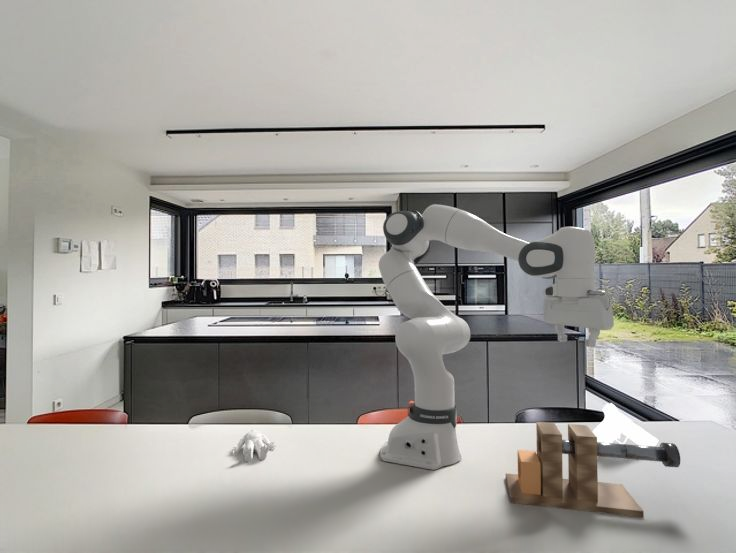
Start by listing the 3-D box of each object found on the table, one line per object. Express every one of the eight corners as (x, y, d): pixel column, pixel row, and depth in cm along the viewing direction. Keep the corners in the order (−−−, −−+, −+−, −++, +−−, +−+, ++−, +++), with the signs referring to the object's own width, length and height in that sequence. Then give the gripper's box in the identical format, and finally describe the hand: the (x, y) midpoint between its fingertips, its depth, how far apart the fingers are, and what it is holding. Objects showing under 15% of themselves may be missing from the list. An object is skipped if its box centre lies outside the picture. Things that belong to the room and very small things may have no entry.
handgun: (587, 445, 117) (613, 403, 118) (581, 441, 120) (607, 400, 121) (636, 479, 118) (661, 438, 120) (629, 475, 121) (654, 434, 122)
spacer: (521, 493, 94) (521, 461, 94) (517, 478, 101) (517, 449, 101) (540, 495, 93) (540, 463, 93) (535, 480, 100) (535, 451, 100)
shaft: (550, 460, 94) (550, 438, 94) (546, 452, 98) (546, 431, 99) (680, 471, 88) (680, 448, 88) (669, 461, 93) (669, 440, 93)
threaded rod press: (511, 502, 92) (510, 434, 92) (505, 478, 104) (505, 417, 104) (643, 517, 86) (642, 443, 87) (622, 489, 98) (621, 424, 98)
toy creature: (232, 449, 112) (232, 425, 123) (232, 469, 113) (231, 443, 124) (278, 443, 115) (273, 420, 127) (277, 463, 117) (273, 438, 128)
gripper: (620, 290, 98) (620, 350, 98) (557, 289, 118) (558, 338, 118) (598, 290, 96) (598, 351, 96) (539, 289, 116) (539, 339, 116)
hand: (575, 344), depth 107 cm, fingers open, 8 cm apart
